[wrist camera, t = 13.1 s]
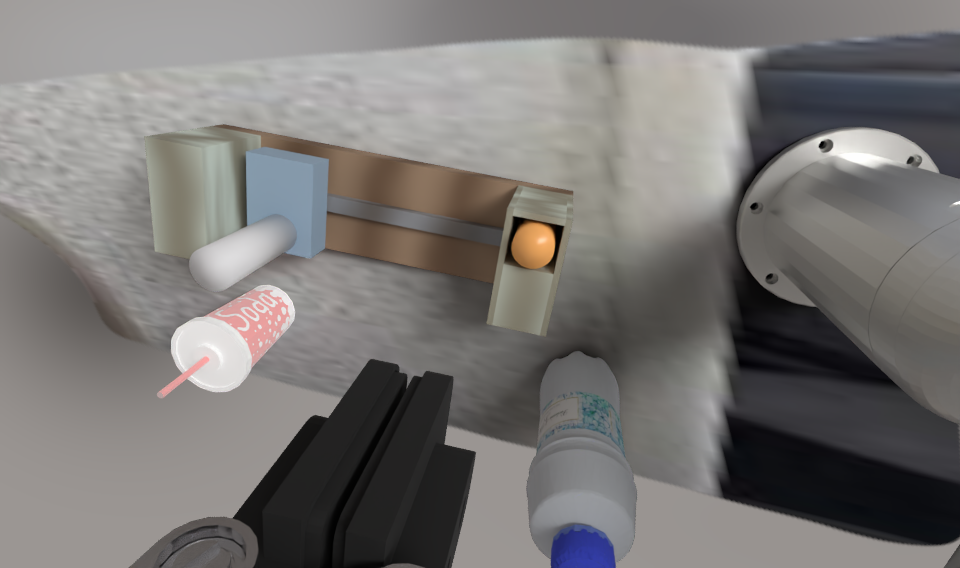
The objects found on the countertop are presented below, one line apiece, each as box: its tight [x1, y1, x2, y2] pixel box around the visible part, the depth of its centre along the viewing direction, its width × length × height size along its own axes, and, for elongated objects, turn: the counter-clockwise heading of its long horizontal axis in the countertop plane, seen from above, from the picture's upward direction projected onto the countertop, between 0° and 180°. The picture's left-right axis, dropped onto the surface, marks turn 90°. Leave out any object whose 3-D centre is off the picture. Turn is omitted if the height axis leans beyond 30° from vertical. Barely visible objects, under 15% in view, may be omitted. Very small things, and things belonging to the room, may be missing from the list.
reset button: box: [511, 218, 556, 269], centre depth 34 cm, size 3×3×4 cm
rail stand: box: [144, 124, 573, 337], centre depth 39 cm, size 28×8×8 cm, turn 81°
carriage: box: [189, 147, 329, 292], centre depth 36 cm, size 5×7×10 cm
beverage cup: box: [157, 285, 295, 398], centre depth 41 cm, size 6×6×14 cm
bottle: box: [527, 351, 637, 568], centre depth 36 cm, size 7×7×20 cm
